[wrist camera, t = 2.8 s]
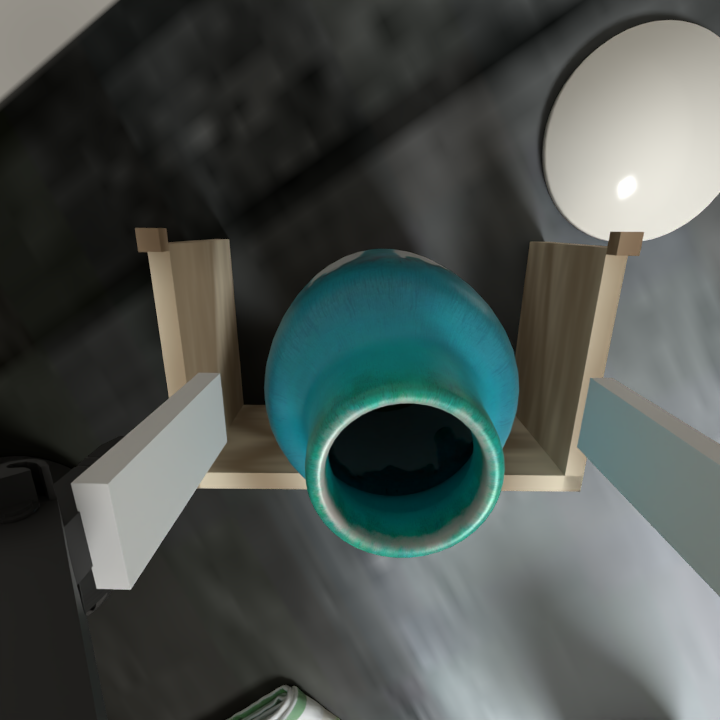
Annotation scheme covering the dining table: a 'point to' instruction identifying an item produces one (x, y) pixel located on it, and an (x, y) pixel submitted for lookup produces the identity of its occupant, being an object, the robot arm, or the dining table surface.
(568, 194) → the disc
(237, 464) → the light wood u-shaped piece
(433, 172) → the dining table surface
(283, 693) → the dish towel
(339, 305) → the vase
